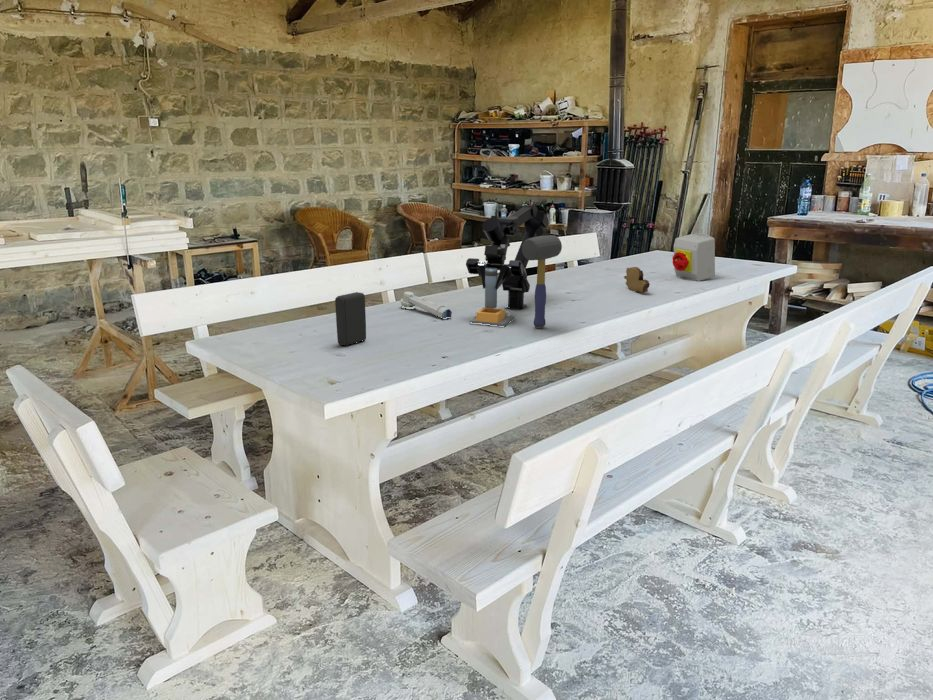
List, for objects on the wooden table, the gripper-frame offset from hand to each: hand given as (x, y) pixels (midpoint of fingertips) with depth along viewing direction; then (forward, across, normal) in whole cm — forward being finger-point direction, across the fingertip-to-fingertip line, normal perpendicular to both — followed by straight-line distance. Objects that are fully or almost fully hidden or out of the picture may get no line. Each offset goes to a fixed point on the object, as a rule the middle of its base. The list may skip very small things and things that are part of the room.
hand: (490, 288), depth 228 cm
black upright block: (+32, -34, -16) cm, 50 cm away
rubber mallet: (+9, +17, +8) cm, 21 cm away
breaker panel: (+6, 0, +11) cm, 13 cm away
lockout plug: (+4, 0, +6) cm, 7 cm away
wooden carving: (-39, +44, +57) cm, 82 cm away
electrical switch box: (-64, +65, +82) cm, 123 cm away
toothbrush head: (+3, -26, +15) cm, 30 cm away
